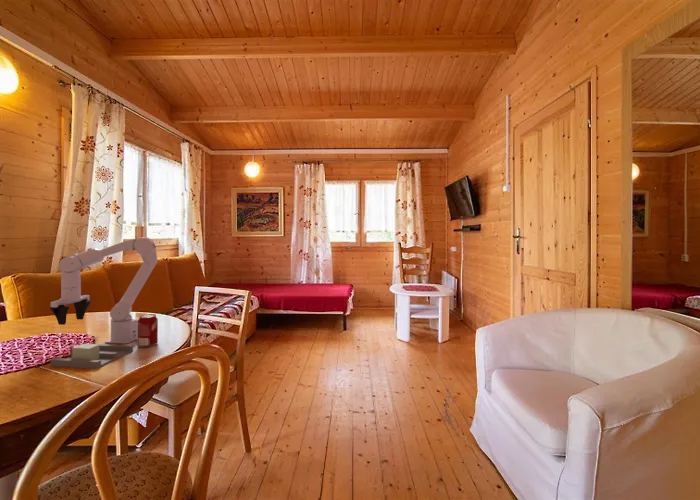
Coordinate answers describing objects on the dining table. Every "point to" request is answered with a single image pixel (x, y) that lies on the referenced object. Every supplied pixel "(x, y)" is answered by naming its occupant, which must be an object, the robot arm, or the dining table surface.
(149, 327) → the soda can
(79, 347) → the plug block
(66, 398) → the dining table surface
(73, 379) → the dining table surface
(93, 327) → the dining table surface
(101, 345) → the ribbed grey tray
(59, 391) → the dining table surface
